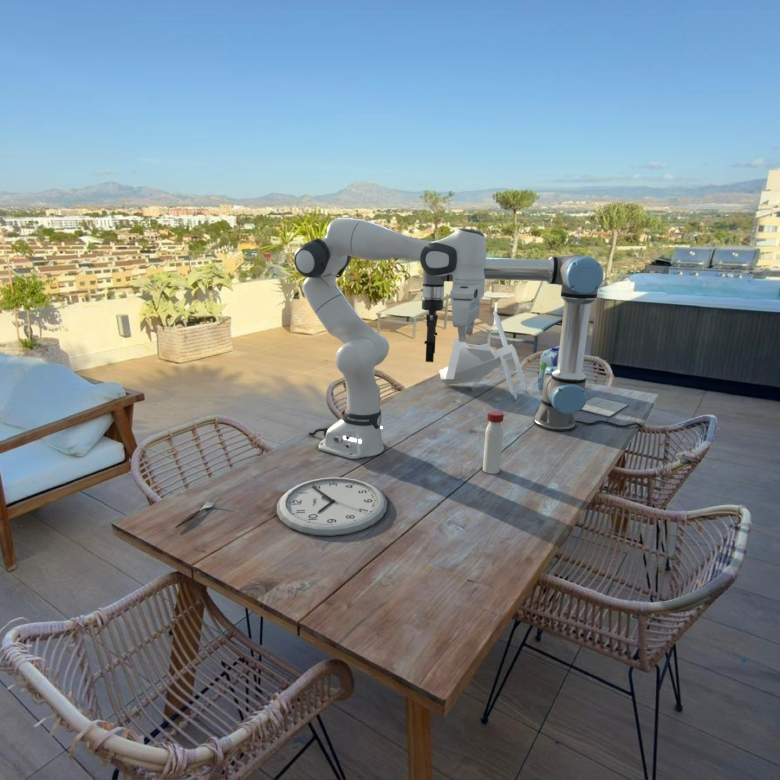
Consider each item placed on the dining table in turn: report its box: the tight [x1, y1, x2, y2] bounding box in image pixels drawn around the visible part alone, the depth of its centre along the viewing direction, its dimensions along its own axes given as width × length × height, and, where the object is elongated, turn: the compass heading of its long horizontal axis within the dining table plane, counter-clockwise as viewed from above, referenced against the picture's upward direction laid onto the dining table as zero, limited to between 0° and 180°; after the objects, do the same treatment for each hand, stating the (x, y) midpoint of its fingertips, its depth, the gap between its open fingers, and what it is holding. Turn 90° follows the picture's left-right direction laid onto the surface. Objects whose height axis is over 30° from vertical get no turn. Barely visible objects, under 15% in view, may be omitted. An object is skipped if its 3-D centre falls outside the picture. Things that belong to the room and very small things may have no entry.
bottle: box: [482, 421, 504, 475], centre depth 162 cm, size 5×5×19 cm
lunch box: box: [537, 345, 560, 391], centre depth 246 cm, size 26×11×21 cm, turn 134°
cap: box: [487, 409, 504, 423], centre depth 160 cm, size 5×5×2 cm
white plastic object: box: [438, 310, 531, 400], centre depth 245 cm, size 37×45×31 cm
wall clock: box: [276, 476, 388, 537], centre depth 142 cm, size 30×2×30 cm
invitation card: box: [580, 396, 629, 418], centre depth 226 cm, size 21×1×15 cm
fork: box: [174, 492, 220, 529], centre depth 137 cm, size 3×16×2 cm, turn 160°
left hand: (465, 338), depth 150 cm, fingers open, 8 cm apart
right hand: (430, 357), depth 190 cm, fingers open, 13 cm apart
